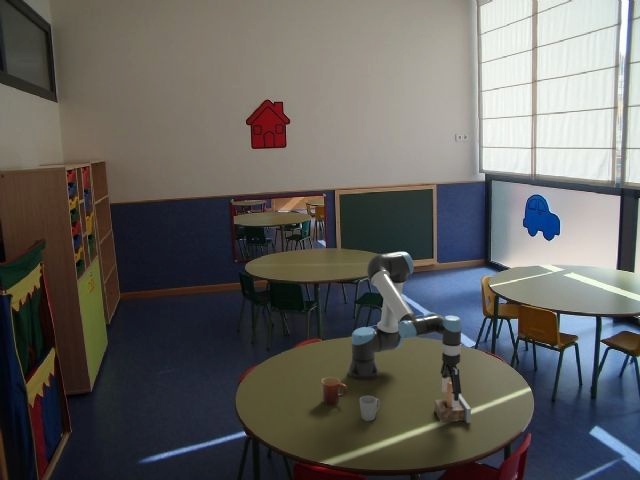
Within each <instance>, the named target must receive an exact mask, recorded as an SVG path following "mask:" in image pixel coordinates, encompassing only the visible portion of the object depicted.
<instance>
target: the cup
mask: <svg viewBox="0 0 640 480" xmlns="http://www.w3.org/2000/svg"><path fill="white" fill-rule="evenodd" d="M359 407H360V409H359V410H360V416H361V418H362V420H363V421H366V422H371V421H374V420H375V419H376V413H377V412H378V411H379V409H380V407H381V401H380V399H379V398H376V397H375V396H373V395H363V396H361V397H360V398H359Z"/></svg>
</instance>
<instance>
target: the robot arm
mask: <svg viewBox="0 0 640 480" xmlns="http://www.w3.org/2000/svg"><path fill="white" fill-rule="evenodd" d="M414 267H415V266H414V261H413V258H412V257H411V255H410V254H409V253H408V252H406V251H396V252H387V253H380V254H379V253H378V254H376V255H375V256H373V257H371V259H370V260H369V262H368V264H367V267H366V272H367V273H366V275H367V278H368V280H369V282H370V283H371V285H372V286H373V287H375V288H377V290H378V292H379V293H380V295H381V296H382V298H383V302H382V308H381V316H380V321H379V322H377V324H376V328H375V329H374V328H373V327H370V326H363V327H359V328H356V329H355V330H353V331H352V333H351V341H350V342H351V361H350V365H349V366H348V367H349V368H348V376H349V377H351V378H352V379H355V380H359V381H368V380H373V379H376V378H377V377H379V368H378V365H377V363H376V354H377V353H382V352H388V351H393V350H396V349H399V348H401V346H402V345H403V342H404V339H413V338H417V337H421V336H427V335H432V334H433V335H434V334H438V335H440V336H442V342H441V343H442V344H441V345H442V346H441V351H442V352H441V360H442V364H441V369H440V374H441V377H442V378H441V380H442V381H441V392H442V393H447V383H448V382H451V383H452V388H453V392H452V407H459V394H461V395H462V385H461V378H460V369H459V368H458V367H457V365H458V364H459V363H460V362H461V348H462V344H461V343H462V319H461V318H460V317H458V316H457V315H446V316H443V315H441V314H439V313H436V312H434V311H433V312H432V311H431V312H429V313H427V314H426V315H425V316H423V317H418V318H417V316H416V315H415V313H414V312H413V310H412V309H411V307H410V306H409V304H408V303H407V302H406V300H405V298H404V297H403V294H402V293H403V287H404V284H405V283H406V282H407V281H408V276H410V275H412V274H413V273H414Z"/></svg>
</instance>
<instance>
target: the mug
mask: <svg viewBox="0 0 640 480" xmlns="http://www.w3.org/2000/svg"><path fill="white" fill-rule="evenodd" d="M320 383H321V385H322V400H323V403H325V404H326V405H328V406H331V405H332V406H334V405H336V404H338V403H339V402H340V398H342V397H344V396H345V395H346V394H347V392H348V386H347V384H345V383H341V380H340V378H338V377H334V376H328V377H324V378H322V379H321V382H320ZM340 387H344V392H343V393H340Z"/></svg>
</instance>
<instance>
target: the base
mask: <svg viewBox="0 0 640 480" xmlns="http://www.w3.org/2000/svg"><path fill="white" fill-rule="evenodd" d="M459 402H460V404H461V405H462V407H463V408H464V410H465V420H466V421H465V420H464V421H465V423H466V422H470V421H471V416H472V408H471V407H470V405H469V404H468V402H467V401H466V399H465V398H464V397H463V396H462V393H461V394H459ZM470 423H471V422H470Z"/></svg>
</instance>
